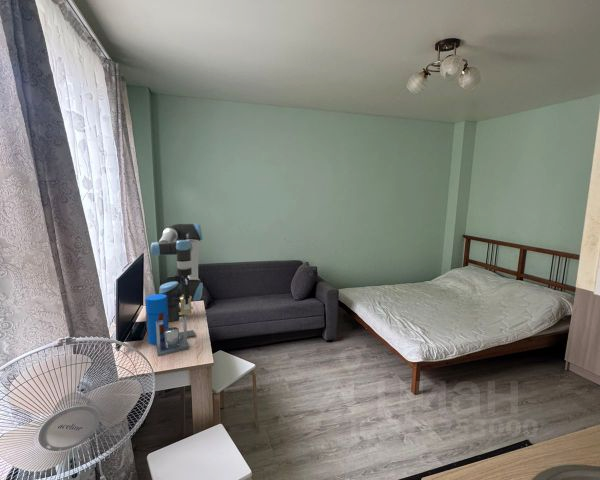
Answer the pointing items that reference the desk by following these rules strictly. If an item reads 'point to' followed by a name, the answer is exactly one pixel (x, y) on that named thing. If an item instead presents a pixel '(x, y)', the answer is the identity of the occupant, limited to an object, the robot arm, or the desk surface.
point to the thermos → (156, 316)
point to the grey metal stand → (172, 339)
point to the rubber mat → (189, 334)
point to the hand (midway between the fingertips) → (186, 307)
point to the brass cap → (183, 306)
